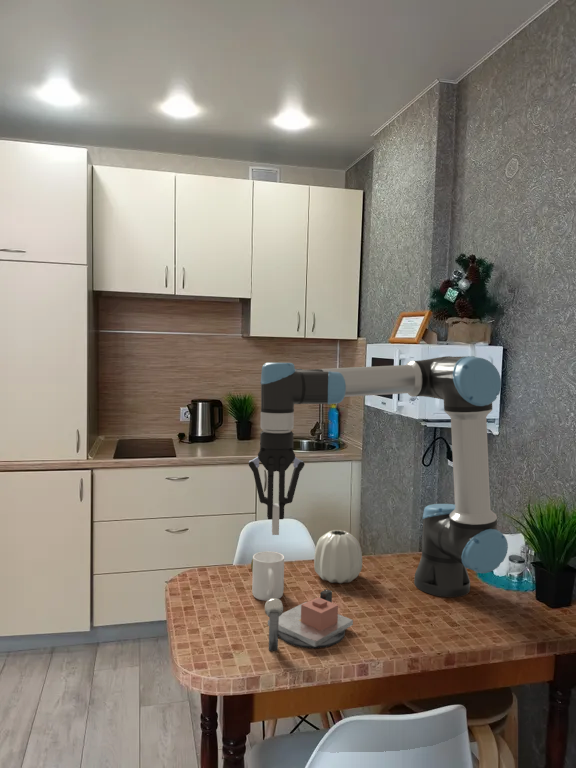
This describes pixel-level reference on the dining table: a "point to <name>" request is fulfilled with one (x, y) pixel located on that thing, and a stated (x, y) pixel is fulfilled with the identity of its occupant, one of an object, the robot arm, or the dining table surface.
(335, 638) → the turntable base
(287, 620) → the turntable
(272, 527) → the robot arm
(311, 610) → the cover
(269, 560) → the mug
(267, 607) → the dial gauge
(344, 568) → the vase
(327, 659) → the dining table surface
